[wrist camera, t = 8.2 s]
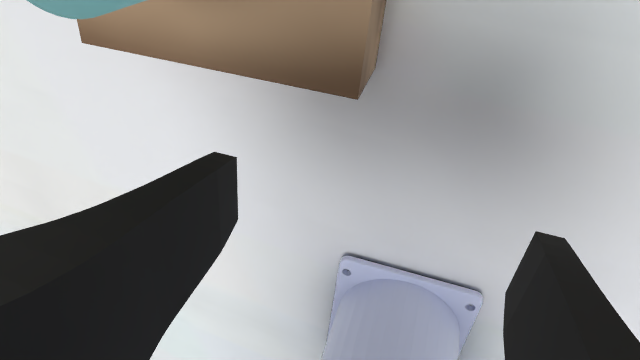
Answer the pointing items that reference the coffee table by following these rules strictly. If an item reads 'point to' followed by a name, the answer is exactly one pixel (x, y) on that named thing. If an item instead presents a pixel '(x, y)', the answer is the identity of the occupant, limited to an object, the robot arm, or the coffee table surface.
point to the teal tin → (82, 7)
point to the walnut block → (253, 38)
